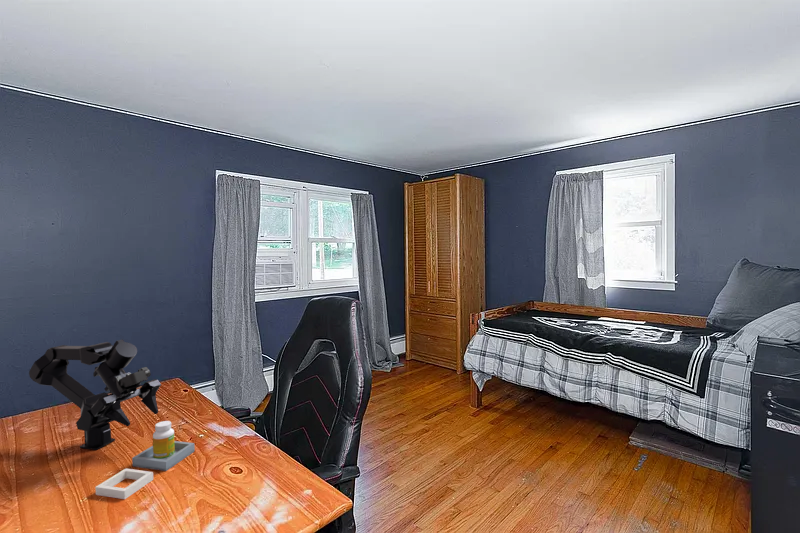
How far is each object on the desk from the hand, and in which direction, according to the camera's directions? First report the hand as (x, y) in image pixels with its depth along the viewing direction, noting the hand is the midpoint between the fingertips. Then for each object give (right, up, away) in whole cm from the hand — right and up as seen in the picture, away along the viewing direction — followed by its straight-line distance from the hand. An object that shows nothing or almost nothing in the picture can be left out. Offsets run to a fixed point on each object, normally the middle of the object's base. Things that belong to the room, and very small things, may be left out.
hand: (143, 419), depth 120 cm
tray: (+7, -11, -2) cm, 13 cm away
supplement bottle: (+7, -10, -2) cm, 13 cm away
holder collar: (+5, -11, -16) cm, 20 cm away
